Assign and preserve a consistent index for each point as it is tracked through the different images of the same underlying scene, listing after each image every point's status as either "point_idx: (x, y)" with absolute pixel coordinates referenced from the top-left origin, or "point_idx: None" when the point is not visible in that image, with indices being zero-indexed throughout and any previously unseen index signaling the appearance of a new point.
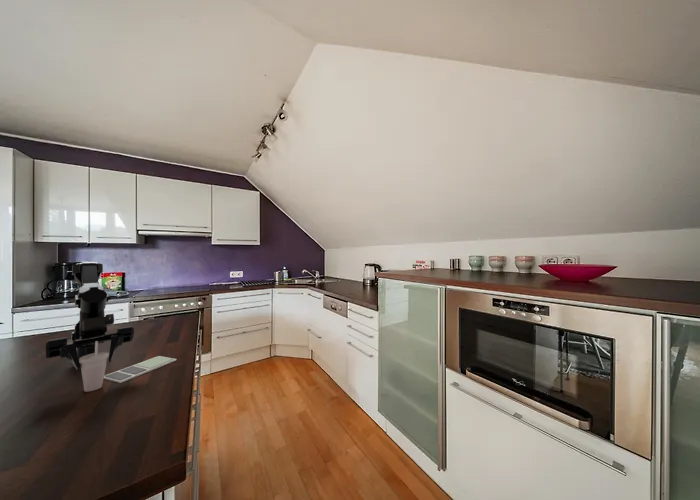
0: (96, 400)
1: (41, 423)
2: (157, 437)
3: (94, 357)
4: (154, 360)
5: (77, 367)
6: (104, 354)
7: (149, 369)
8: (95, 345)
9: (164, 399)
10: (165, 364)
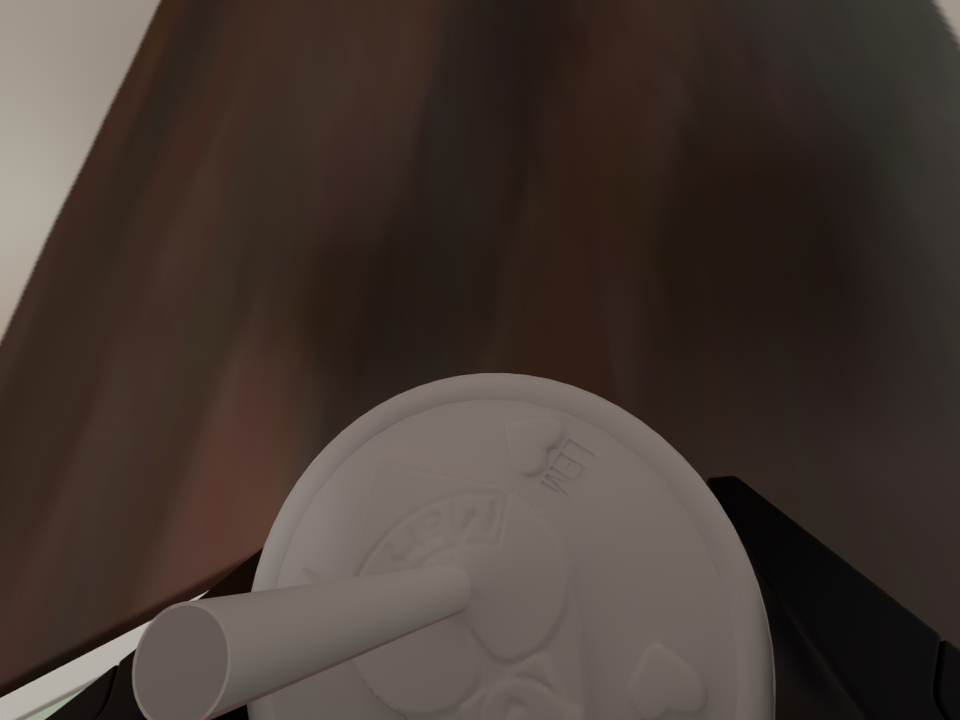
0: (530, 268)
1: (809, 127)
2: None
3: (478, 484)
4: None
5: (736, 484)
6: (320, 579)
7: (135, 643)
8: (339, 597)
9: (235, 35)
10: (12, 694)
